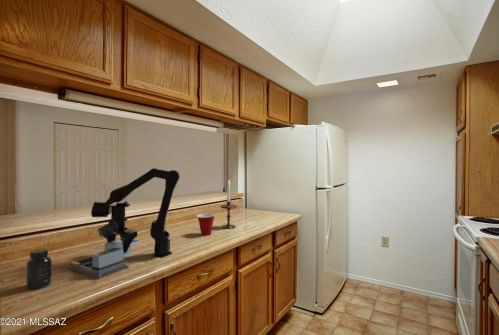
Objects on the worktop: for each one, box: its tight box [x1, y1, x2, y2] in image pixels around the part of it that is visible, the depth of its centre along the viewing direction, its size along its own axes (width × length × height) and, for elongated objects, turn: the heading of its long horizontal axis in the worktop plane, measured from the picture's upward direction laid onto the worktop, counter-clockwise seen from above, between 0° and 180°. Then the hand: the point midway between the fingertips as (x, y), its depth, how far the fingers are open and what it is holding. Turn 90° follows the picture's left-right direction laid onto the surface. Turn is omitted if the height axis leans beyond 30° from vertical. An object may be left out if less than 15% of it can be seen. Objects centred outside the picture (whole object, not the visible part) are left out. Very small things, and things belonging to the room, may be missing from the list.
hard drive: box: [131, 238, 139, 245], centre depth 141 cm, size 2×8×12 cm
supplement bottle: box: [25, 248, 52, 291], centre depth 92 cm, size 7×7×12 cm
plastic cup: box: [196, 212, 216, 236], centre depth 162 cm, size 11×11×12 cm
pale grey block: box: [104, 239, 132, 258], centre depth 122 cm, size 10×4×7 cm, turn 152°
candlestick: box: [219, 175, 238, 230], centre depth 180 cm, size 11×11×35 cm
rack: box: [67, 247, 130, 280], centre depth 108 cm, size 13×20×7 cm, turn 62°
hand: (118, 251), depth 122 cm, fingers open, 9 cm apart
